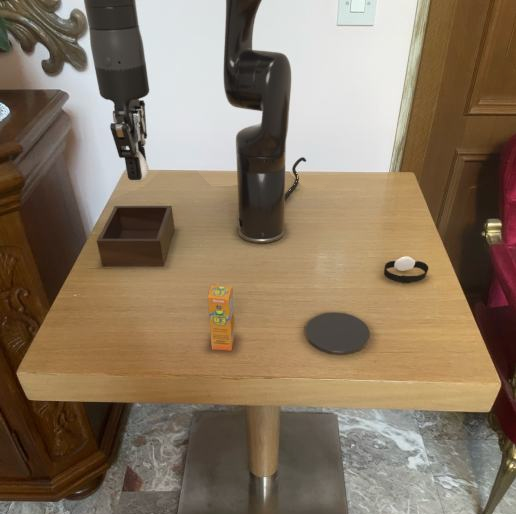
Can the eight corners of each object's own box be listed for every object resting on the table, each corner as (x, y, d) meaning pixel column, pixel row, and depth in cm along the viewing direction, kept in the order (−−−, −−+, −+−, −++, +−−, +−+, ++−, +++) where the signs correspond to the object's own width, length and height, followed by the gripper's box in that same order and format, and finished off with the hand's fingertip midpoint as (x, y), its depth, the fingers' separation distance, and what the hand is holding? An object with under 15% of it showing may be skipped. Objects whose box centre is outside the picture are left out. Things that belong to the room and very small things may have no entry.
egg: (126, 185, 88) (120, 152, 85) (129, 176, 91) (124, 144, 87) (148, 184, 88) (143, 151, 85) (151, 176, 91) (146, 143, 87)
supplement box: (210, 351, 79) (205, 296, 73) (215, 336, 82) (210, 282, 75) (232, 352, 79) (229, 297, 72) (236, 338, 82) (233, 284, 75)
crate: (119, 229, 110) (114, 205, 106) (174, 229, 109) (171, 205, 106) (102, 266, 98) (96, 240, 95) (163, 266, 98) (160, 240, 95)
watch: (423, 270, 96) (427, 253, 94) (428, 284, 93) (433, 266, 90) (381, 270, 96) (383, 252, 94) (385, 284, 93) (388, 266, 91)
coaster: (314, 310, 87) (314, 307, 87) (374, 321, 84) (374, 318, 84) (297, 347, 80) (297, 344, 79) (363, 360, 77) (363, 357, 77)
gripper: (134, 72, 72) (152, 191, 83) (153, 50, 83) (167, 158, 94) (80, 73, 72) (105, 191, 83) (106, 51, 83) (125, 158, 94)
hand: (138, 173), depth 89 cm, fingers closed on egg, 3 cm apart
